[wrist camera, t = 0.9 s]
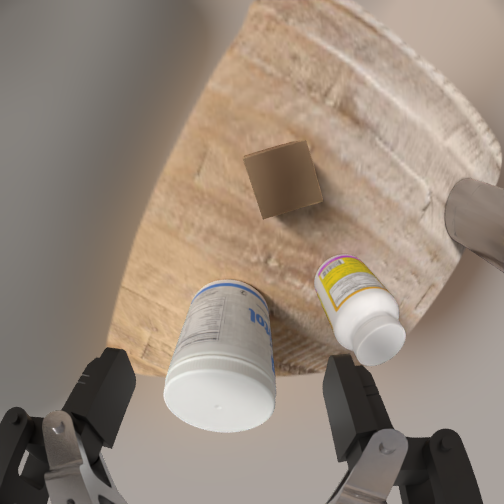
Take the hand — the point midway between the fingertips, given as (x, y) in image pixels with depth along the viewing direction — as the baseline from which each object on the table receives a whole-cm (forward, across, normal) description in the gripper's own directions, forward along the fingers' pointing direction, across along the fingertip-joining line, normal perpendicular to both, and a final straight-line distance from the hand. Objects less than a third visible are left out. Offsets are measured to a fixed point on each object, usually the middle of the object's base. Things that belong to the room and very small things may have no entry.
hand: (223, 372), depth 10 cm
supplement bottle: (+21, -11, +7) cm, 25 cm away
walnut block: (+21, -3, -5) cm, 22 cm away
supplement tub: (+21, +2, +11) cm, 24 cm away
